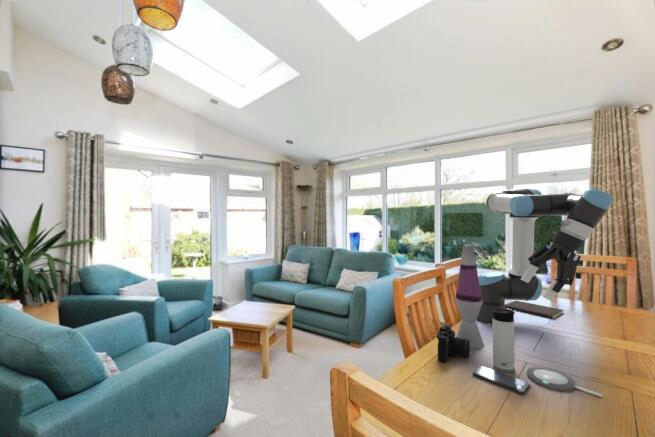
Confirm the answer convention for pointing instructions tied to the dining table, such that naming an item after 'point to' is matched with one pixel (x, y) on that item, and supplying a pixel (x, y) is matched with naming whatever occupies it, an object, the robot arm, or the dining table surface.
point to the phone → (502, 380)
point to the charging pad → (554, 380)
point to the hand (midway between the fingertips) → (534, 289)
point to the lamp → (469, 298)
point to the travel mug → (503, 340)
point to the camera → (451, 345)
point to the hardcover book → (534, 309)
